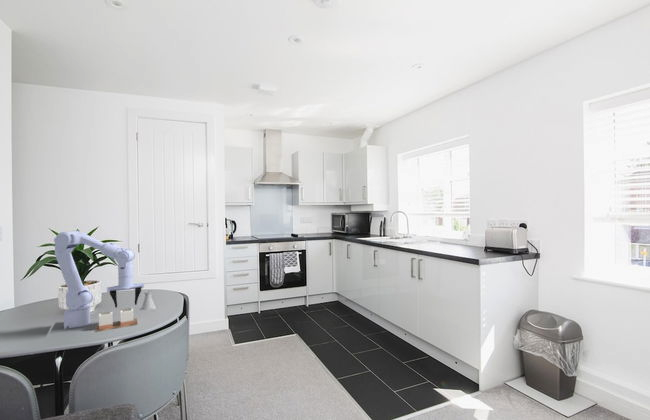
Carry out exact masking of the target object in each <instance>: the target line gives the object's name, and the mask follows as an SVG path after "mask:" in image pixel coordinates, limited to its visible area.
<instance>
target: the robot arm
mask: <svg viewBox="0 0 650 420" xmlns="http://www.w3.org/2000/svg"><path fill="white" fill-rule="evenodd" d="M53 241H54V244H55V245H54V255H55V258H56V261H57V264H58V267H59V268H60V271H61V274H62V277H63V279H64V282H65V285H66V288H67V292H66V294H65V299H66V300H65V306H66V308H68V309H65V310H64V313H63V329H64V330H66V329H73V328H79V327H85V326H87V325H90V324H91V303H92V302H93V299H94V295H93V293H92V292H91V291H90V290H89V287H87V286H85V285H84V284H83V281H82V279H81V277H80V274H79V271H78V267H77V265H76V262H75V260H74V258H73V255H72V252H73V251H74V250H75V248H76V247H78V246H79V245H85V246H88V247H91V248H93V249H96V250H99V251H100V252H101V254H102V255H104V256H106V257H108V258H111V259H113V260H115V261H116V263H117V270H118V271H117V272H118V273H117V275H118V283H117V284H118V285H115V286H114V285H113V286H109V287H108V286H107V287H106V293H109V295H110V297H111V299H112V301H113V303H114V308H118V301H117V300H118V299H117V297H118V296H117V292H119V291H127V290H134V293H135V294H134V305H138V301H139V297H140V294H141V292H142V289H144V288H145V283H144V282H143V283H134V268H133V267H134V266H133V264H134V262H133V260H134V259H135V257H136V254H135V252H134V251H133V250H132V249H130V248H126V249H125V247H123V246H122V247H121V246H119V245H116V243H115V242H112V241H111V242H107V243H105V242H102V241H101V240H100V239H97V238H94V237H93V236H90V235H88V234H87V233H86V232H83V231H80V230H72V231H61V232H59V233H58V234H57V235H55V238H54V239H53Z"/></svg>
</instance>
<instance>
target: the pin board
mask: <svg viewBox="0 0 650 420" xmlns="http://www.w3.org/2000/svg"><path fill="white" fill-rule="evenodd" d="M133 326H138V319H137V317H136V318H134V324H128V325H123V326H121V320H116V321H113V327H111V328H105V329H100V330H99V323H98V324H96V325H95V327H94V333H99V332H103V331H109V330H114V329H115V330H116V329H120V328H127V327H128V328H129V327H133Z"/></svg>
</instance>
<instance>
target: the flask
mask: <svg viewBox="0 0 650 420" xmlns="http://www.w3.org/2000/svg"><path fill="white" fill-rule="evenodd" d="M152 309H153V311H156V310H157V307H156V304H155V302H154V301H153V298H152V290H147V291H145V292H144V300H143V303H142V305H141V308H140V310H152Z"/></svg>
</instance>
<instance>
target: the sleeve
mask: <svg viewBox="0 0 650 420" xmlns="http://www.w3.org/2000/svg"><path fill="white" fill-rule="evenodd" d="M119 311H120V321H121V326H123V325H128V324H134V307H129V308H121V309H120V310H119Z"/></svg>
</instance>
